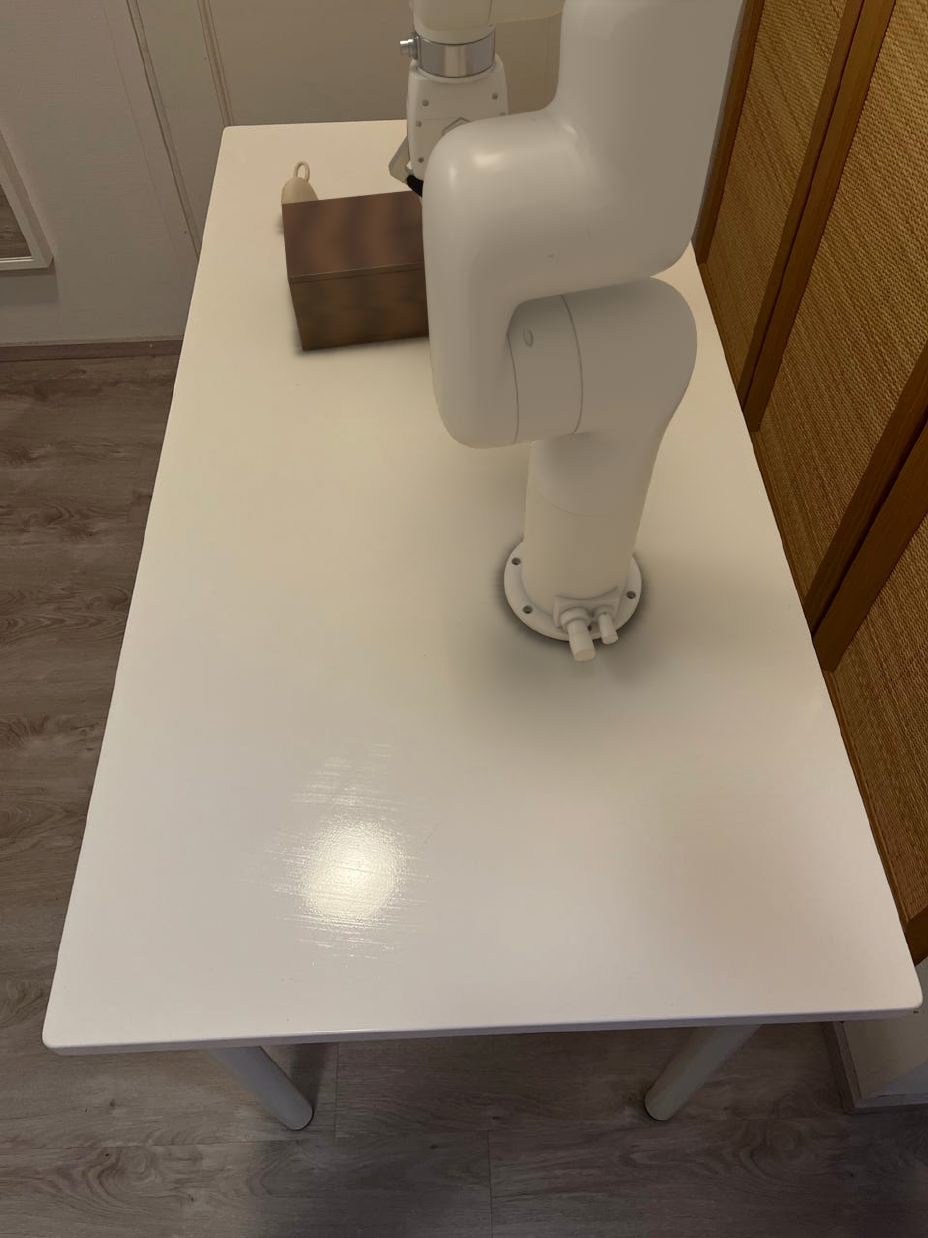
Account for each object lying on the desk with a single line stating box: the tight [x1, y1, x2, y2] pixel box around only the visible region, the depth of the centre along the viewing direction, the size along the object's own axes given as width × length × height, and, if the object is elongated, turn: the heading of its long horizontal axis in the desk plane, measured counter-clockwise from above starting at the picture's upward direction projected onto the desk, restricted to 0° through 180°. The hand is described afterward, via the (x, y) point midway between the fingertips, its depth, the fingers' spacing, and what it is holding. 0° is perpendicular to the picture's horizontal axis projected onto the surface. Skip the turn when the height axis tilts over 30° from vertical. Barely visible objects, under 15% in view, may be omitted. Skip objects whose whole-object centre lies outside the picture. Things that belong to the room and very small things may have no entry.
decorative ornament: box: [280, 160, 319, 207], centre depth 111 cm, size 4×8×5 cm, turn 166°
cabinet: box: [281, 189, 429, 351], centre depth 100 cm, size 16×14×10 cm
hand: (459, 225), depth 97 cm, fingers closed on figurine, 4 cm apart
